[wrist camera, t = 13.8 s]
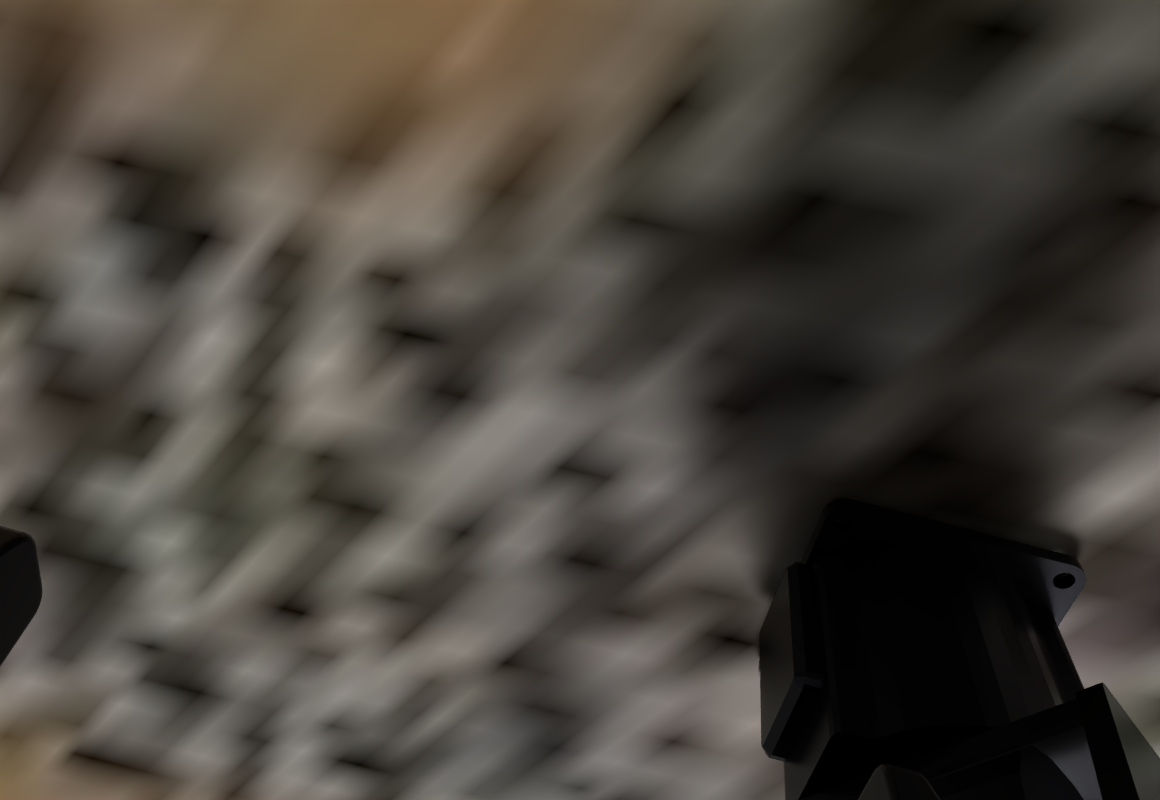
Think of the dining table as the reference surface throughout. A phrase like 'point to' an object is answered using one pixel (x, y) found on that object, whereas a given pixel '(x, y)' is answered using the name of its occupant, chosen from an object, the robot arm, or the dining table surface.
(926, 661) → the robot arm
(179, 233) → the dining table surface
